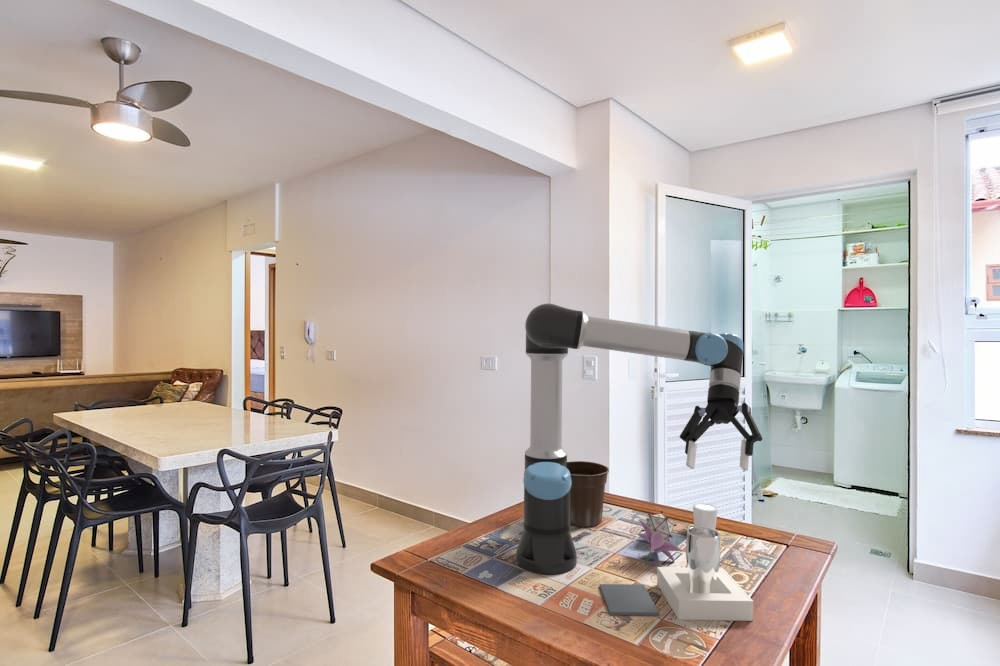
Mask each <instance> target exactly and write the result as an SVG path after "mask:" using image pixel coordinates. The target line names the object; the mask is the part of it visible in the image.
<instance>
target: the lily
mask: <svg viewBox="0 0 1000 666" xmlns="http://www.w3.org/2000/svg"><path fill="white" fill-rule="evenodd" d="M638 522H639V523H640V524H641V527H642V528H643V530H645V531H644V533H640V532H639V533H636V535H637V536H638V537H640V538H641V539H643V540H645V541H647V543H649V546H650V550H649V553H648V556H647V559H646V561H645V566H648V562H649V559H650V556H651V553H652V552H654V553H655V552H656V554H657V553H658V554H660V553H662V554H664V555H665V556H666V557H667V558H669V559H670V560H671V561H672V562H673V561H675V558H674V557H673V555H672V553H671V552H681V553H682V552H683V550H682V549H681V548H680V547H679V546H678V545H675V543H673V542H671V541H670V540H669V541H670V542H669V541H668V540H664V538H663V535H662V533H661V532H660V531H657V532H654V531H653V530H652V529H651V528H650V527H649V526H648V525H647V523H646V522H645V521H642V520H641V519H638Z"/></svg>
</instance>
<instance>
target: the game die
mask: <svg viewBox="0 0 1000 666" xmlns="http://www.w3.org/2000/svg"><path fill="white" fill-rule="evenodd" d="M663 513H664V512H663V510H660V513H656V514H653V515H652V514H651V513H649V512H648V518H646V524H647V525H648V526H649V527H650V528H651V529H652V530H653V531H654V532H657V531H660V532H661V533H662V535H663V538H664V540H667V541H669V542H671V541H670V538H671V539H672V538H673V535H672V533H673V529H674V527H677V524H676V523H675V524H674V523H672V521H671V520H669V517H668V516H666V515H664V514H663ZM640 532H644V533H645V530H644V529H641V530H640Z"/></svg>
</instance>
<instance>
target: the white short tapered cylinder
mask: <svg viewBox="0 0 1000 666" xmlns="http://www.w3.org/2000/svg"><path fill="white" fill-rule="evenodd" d="M718 510H719V509H718V506H715V505H714V504H709V503H694V504H692V512H693V514H692V515H693V527H706V528H710V529H713V530H715V531H716V528H717V518H718Z"/></svg>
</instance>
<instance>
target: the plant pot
mask: <svg viewBox="0 0 1000 666" xmlns="http://www.w3.org/2000/svg"><path fill="white" fill-rule="evenodd" d="M567 469H568V470H569V472H570V475H571V481H572V485H571V497H570V526H572V525H575V526H576V527H577V528H579V527H580V528H591V526H592V527H595V526H598V525H600V523H602V521H603V511H604V501H605V500H604V499H605V490H606V484H607V478H608V473H609V472H610V468H609V467H608V466H606V465H605V464H602V463H599V462H592V461H585V460H582V461H581V460H579V461H578V460H575V461H567Z"/></svg>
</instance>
